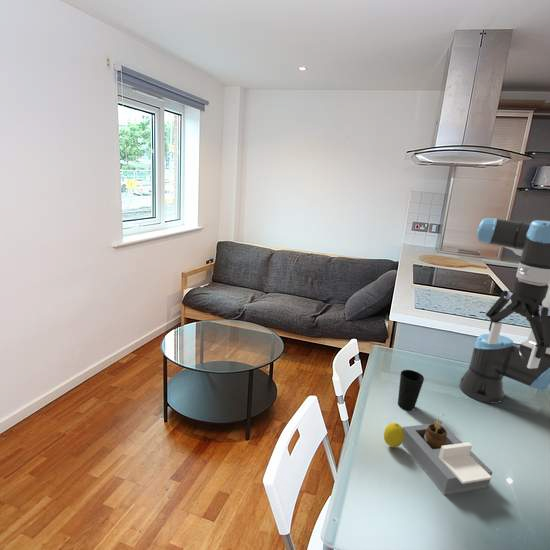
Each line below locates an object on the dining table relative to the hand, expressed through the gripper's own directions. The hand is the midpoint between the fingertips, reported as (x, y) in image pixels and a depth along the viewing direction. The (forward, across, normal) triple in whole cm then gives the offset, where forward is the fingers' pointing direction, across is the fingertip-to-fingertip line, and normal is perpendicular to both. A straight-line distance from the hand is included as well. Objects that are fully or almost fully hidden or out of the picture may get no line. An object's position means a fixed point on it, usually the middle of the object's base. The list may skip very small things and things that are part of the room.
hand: (510, 354), depth 105 cm
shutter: (+27, +9, -16) cm, 33 cm away
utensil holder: (+32, -2, -16) cm, 36 cm away
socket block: (+32, +2, -16) cm, 36 cm away
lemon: (+33, -6, -27) cm, 43 cm away
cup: (+33, -25, -10) cm, 42 cm away
